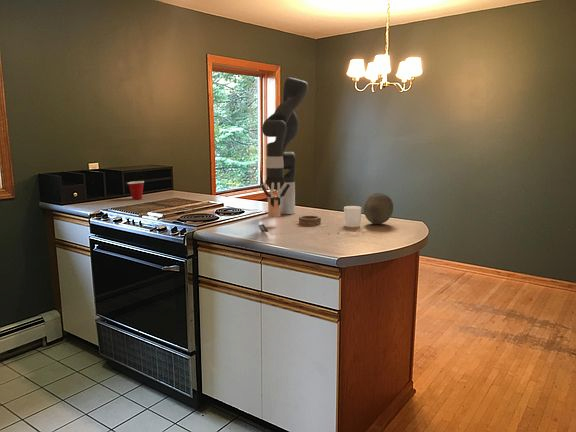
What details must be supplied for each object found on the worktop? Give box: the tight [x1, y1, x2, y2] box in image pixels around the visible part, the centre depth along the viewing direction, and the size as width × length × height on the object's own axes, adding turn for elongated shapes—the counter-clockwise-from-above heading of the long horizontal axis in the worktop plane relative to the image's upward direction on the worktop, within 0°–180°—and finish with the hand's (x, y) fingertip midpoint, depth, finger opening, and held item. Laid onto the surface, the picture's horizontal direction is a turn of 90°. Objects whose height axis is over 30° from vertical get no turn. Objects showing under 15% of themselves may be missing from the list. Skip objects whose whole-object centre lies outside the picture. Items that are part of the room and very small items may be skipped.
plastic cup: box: [127, 180, 145, 201], centre depth 307 cm, size 11×11×12 cm
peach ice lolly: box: [267, 195, 281, 218], centre depth 206 cm, size 9×6×9 cm, turn 10°
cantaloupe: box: [363, 192, 394, 226], centre depth 217 cm, size 14×14×15 cm
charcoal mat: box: [258, 224, 269, 233], centre depth 211 cm, size 14×12×1 cm
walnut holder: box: [292, 215, 329, 228], centre depth 213 cm, size 14×14×4 cm
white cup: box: [343, 205, 362, 228], centre depth 208 cm, size 8×8×10 cm
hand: (275, 205), depth 204 cm, fingers closed on peach ice lolly, 1 cm apart
